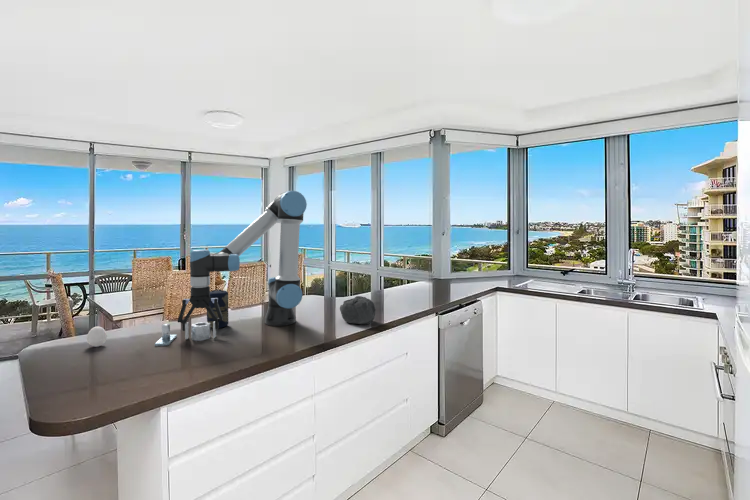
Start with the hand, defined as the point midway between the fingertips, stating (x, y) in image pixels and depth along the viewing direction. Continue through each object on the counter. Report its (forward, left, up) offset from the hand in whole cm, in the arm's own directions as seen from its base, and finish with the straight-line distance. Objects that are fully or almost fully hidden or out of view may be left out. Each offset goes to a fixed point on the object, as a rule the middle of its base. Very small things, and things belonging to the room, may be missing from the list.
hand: (200, 337), depth 160 cm
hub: (0, 0, 0) cm, 0 cm away
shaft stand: (+13, +2, 0) cm, 13 cm away
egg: (+37, +4, 0) cm, 37 cm away
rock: (-72, -14, 0) cm, 73 cm away
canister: (-4, -18, 0) cm, 18 cm away
